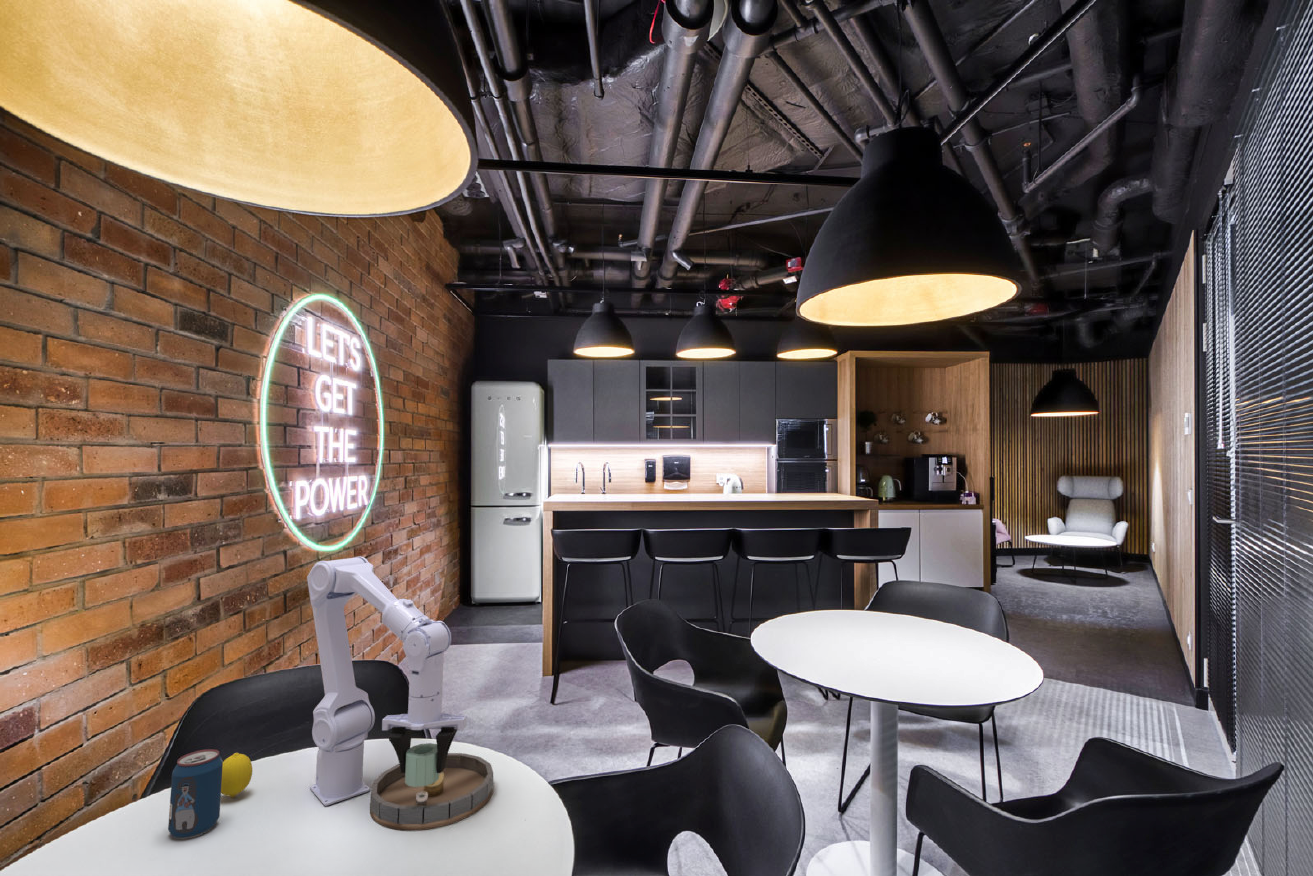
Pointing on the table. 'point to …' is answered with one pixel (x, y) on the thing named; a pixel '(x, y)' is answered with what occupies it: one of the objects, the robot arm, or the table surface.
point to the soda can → (195, 794)
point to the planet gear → (421, 765)
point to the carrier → (432, 795)
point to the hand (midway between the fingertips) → (422, 770)
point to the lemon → (235, 774)
